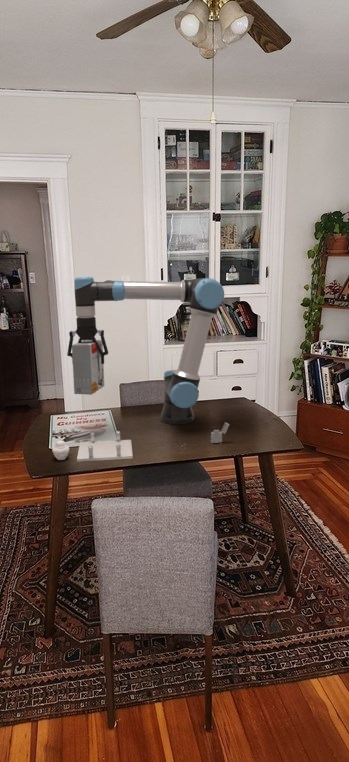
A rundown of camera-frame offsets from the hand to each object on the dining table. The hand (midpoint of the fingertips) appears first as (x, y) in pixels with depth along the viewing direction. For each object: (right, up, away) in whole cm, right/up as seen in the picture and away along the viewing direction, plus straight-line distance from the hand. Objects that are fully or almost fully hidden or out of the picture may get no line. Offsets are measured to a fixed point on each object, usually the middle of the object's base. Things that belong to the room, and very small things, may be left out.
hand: (89, 372), depth 199 cm
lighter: (+53, -28, -5) cm, 60 cm away
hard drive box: (0, -7, +2) cm, 8 cm away
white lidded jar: (-7, -32, -19) cm, 38 cm away
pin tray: (+8, -30, -13) cm, 34 cm away
